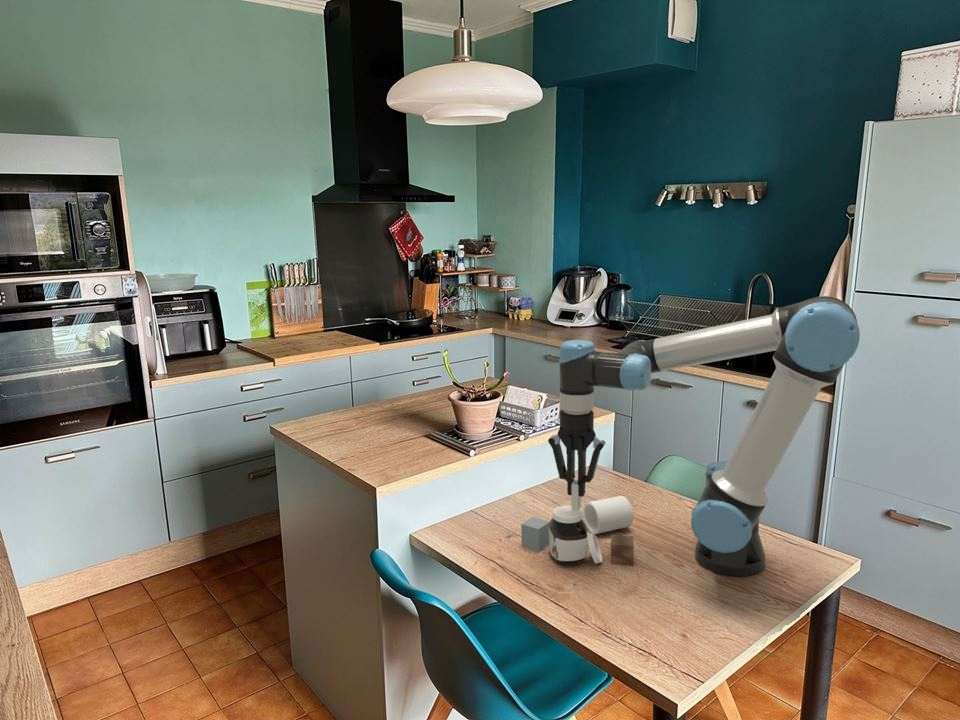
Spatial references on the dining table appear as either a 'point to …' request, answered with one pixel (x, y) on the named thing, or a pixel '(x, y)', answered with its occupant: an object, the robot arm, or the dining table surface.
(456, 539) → the dining table surface
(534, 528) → the slate block
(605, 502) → the mug
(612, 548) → the walnut block
